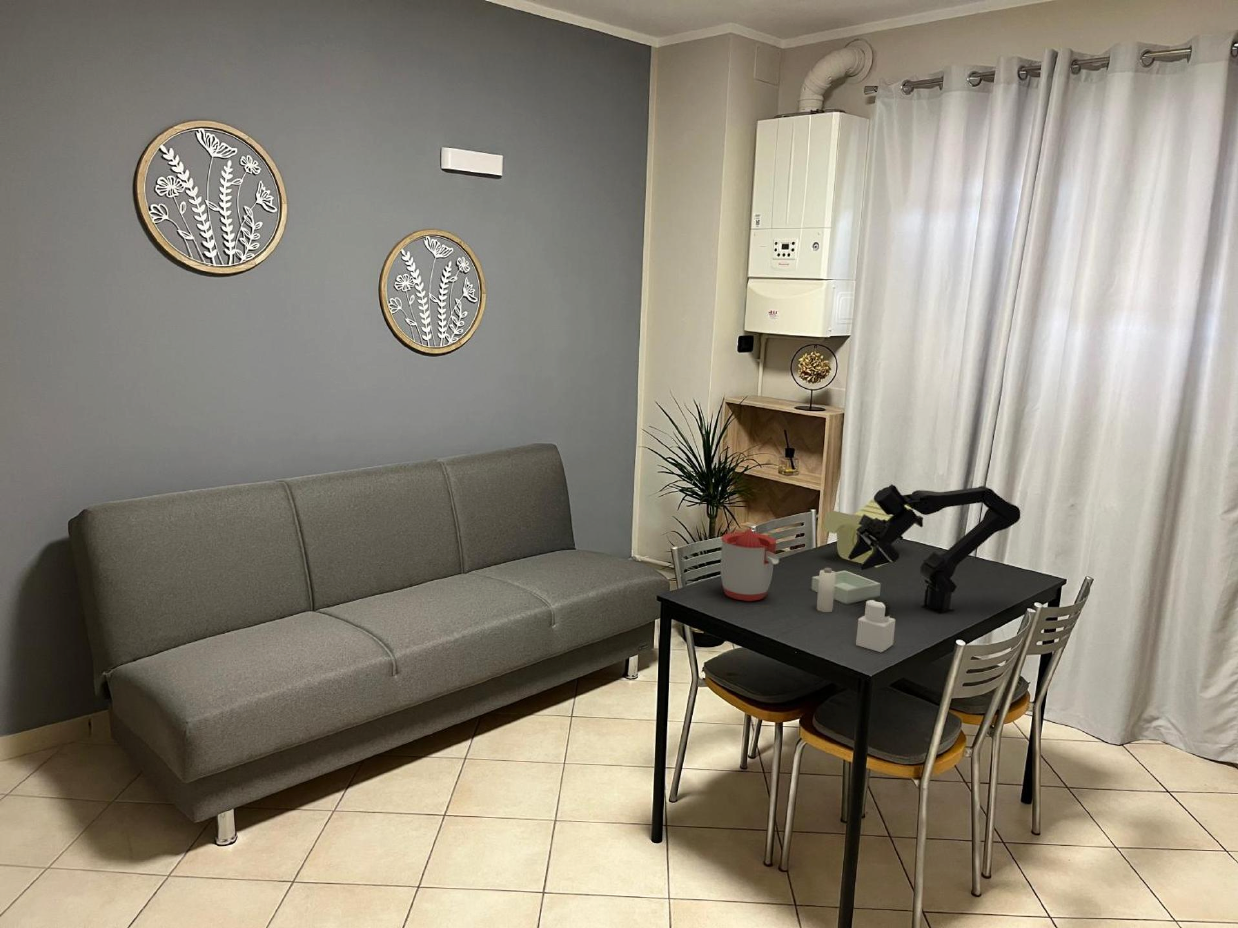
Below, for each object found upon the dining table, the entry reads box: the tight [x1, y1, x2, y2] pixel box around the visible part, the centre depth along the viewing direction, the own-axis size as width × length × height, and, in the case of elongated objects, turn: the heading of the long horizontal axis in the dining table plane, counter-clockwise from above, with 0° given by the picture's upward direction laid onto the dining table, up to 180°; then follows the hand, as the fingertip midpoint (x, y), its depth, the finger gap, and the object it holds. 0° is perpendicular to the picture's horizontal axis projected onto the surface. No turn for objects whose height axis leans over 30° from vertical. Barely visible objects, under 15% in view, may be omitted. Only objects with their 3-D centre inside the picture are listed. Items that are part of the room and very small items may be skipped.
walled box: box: [811, 570, 882, 605], centre depth 275 cm, size 14×14×4 cm
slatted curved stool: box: [822, 498, 914, 568], centre depth 311 cm, size 30×16×18 cm, turn 136°
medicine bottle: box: [855, 597, 896, 653], centre depth 235 cm, size 7×7×12 cm
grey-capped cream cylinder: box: [816, 567, 837, 613], centre depth 260 cm, size 4×4×12 cm
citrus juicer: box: [720, 528, 780, 602], centre depth 268 cm, size 16×17×20 cm
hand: (855, 563), depth 260 cm, fingers open, 9 cm apart
